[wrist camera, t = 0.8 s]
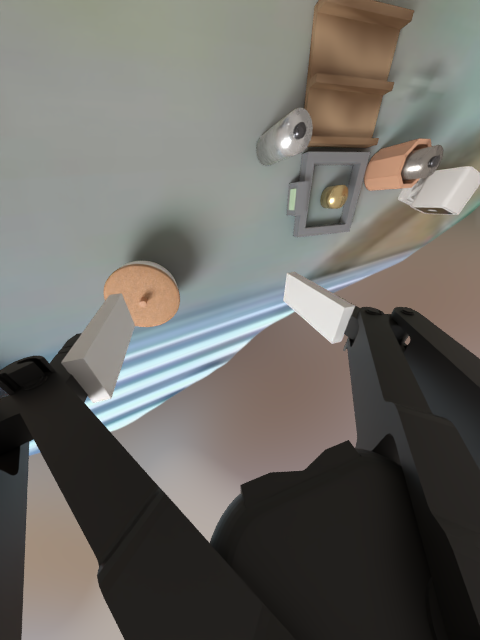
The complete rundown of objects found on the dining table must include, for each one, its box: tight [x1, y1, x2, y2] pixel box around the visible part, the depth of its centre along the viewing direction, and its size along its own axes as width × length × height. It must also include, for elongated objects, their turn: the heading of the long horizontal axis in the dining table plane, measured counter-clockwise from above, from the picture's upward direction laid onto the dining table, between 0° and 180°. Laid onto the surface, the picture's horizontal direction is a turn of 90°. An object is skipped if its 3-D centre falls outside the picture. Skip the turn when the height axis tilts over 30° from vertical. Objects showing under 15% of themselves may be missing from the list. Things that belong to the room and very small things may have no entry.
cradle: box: [287, 152, 370, 237], centre depth 34 cm, size 13×15×3 cm
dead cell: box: [401, 145, 443, 180], centre depth 32 cm, size 4×4×10 cm
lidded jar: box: [104, 260, 180, 327], centre depth 31 cm, size 11×11×9 cm
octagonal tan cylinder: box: [364, 139, 431, 191], centre depth 33 cm, size 6×6×7 cm
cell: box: [256, 108, 313, 166], centre depth 25 cm, size 4×4×10 cm
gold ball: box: [321, 185, 348, 208], centre depth 34 cm, size 4×4×3 cm
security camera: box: [398, 166, 480, 215], centre depth 37 cm, size 6×7×10 cm
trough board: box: [304, 0, 414, 148], centre depth 27 cm, size 13×14×2 cm
